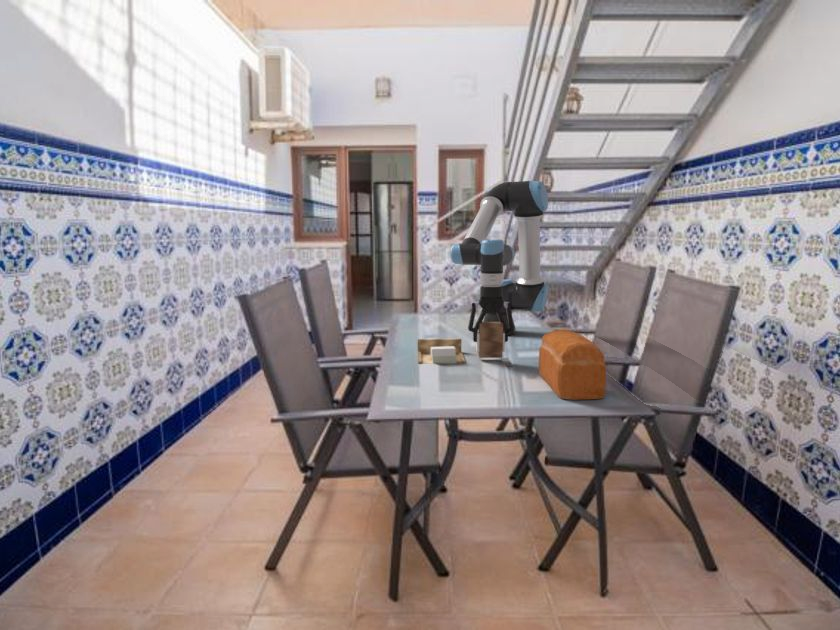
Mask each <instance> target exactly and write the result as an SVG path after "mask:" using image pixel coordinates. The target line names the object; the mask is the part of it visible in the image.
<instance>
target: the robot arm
mask: <svg viewBox="0 0 840 630" xmlns="http://www.w3.org/2000/svg"><path fill="white" fill-rule="evenodd" d="M548 208H549V195H548V189H547V187H546V185H545V183H544V182H543V181H540V180H522V181H521V180H520V181H504V182H501V183H499V184H497V185H495V186H493V187H492V188H491V189H490V190H489V191H487V193H485V195H484V196H483V197H482V200H480V203H479V210H478V212H477V214H476V216H475V218H474V220H473V221H472V223H471V225H470V227H469V229H468V231H467V233H466V234H465V237H464V238H463V239H462V242H461V243H454V244H452V246H451V249H450V260H451V262H452V263H453V264H456V265H461V266H462V265H463V266H480V281H479V282H480V285H481V286H480V289H479V291H480V293H479V299H478V301H475V302H474V301H471V303H470V306H471V310H470V316H469V321H468V327H467V330H468V331H469V332H471V333H473V335H472V337H473V338H472V339H473V342H474V343H475V347H476V349H475V351H476V352H477V353H478V352H479V334H480V333H479V332H478V331H479V327H480V323H482V322H501V323H503V353H504V352H505V350H506V349H505V347H506V346H505V345H506V344H505V342H506V343H507V342H508V341H509V336H511V335H514V334H516V331H517V330H516V329H517V328H516V325H515V322H514V319H513V311H521V312H522V311H523V312H531V313H532V312H538V313H539V312H543V310H544V309H545V307H546V305H547V302H548V298H549V285H548V284H546V283H545V279H544V278H543V277H542V276H541V239H540V238H541V225H540V224H541V222H540V221H541V218H542V217H543V216H544V212H546V211H547V210H548ZM504 212H513V215H514V218H515V219H516V220H517V228H518V229H517V230H518V236H517V237H518V269H519V271H518V272H519V273H518V274H519V276H518V278H516V279H515V282H514V281H513V279H511V278H510V279H504V267H505V266H508V265H509V264H511V263H512V262H513V261H514V259H515V250H514V248H513V247H512V246H511V245H510V244H506V243H504V240H502V239H495V238H494V239H488V237H489V235H490V233H491V230H492V228H493V226H494V224H495V222H496V220H497V218H498V217H500V216H501V215H502V214H503V213H504ZM478 306H479V307H480V308H481V311H480V313H479V317H478V318H477V321H476V322H475V318H476V313H477V309H478ZM474 322H475V325H474Z"/></svg>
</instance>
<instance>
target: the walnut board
mask: <svg viewBox="0 0 840 630" xmlns="http://www.w3.org/2000/svg"><path fill="white" fill-rule="evenodd" d="M478 332H479V333H480V334H479V352H477V356H478V358H479V359H489V358H492V359H495V358H496V359H499V358H500V359H501V358H503V355H504V354H503V353H504V352H503V323H501V322H483V321H482V323H480V327H479V329H478Z"/></svg>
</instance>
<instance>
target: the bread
mask: <svg viewBox="0 0 840 630" xmlns="http://www.w3.org/2000/svg"><path fill="white" fill-rule="evenodd" d="M538 350H539V351H538V373H539V376H541V378H542V379H543V381H544V382H545V383H546V384H547V385H548V386H549V387H550V389H551V390H553V392H554V393H555V394H556V395H557V397H559V398H560V399H561V400H562V399H563V400H571V401H572V400H579V401H582V400H583V401H585V400H587V401H588V400H599V399H602V398H604V397H605V395H606V385H607V364H606V362H605V355H604V353H603V352H602V350H600V348H599V347H598V346H597V345H596V344H595V343H594V342H592V340H589V339H588V338H586V337H585V336H583V335H581V334H580V333H578V332H576V331H573V330H568V329H555V330H552V331H548V332H547V333H545V334H544V335H543V336H542V337H541V345H540V347H539V349H538Z"/></svg>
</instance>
